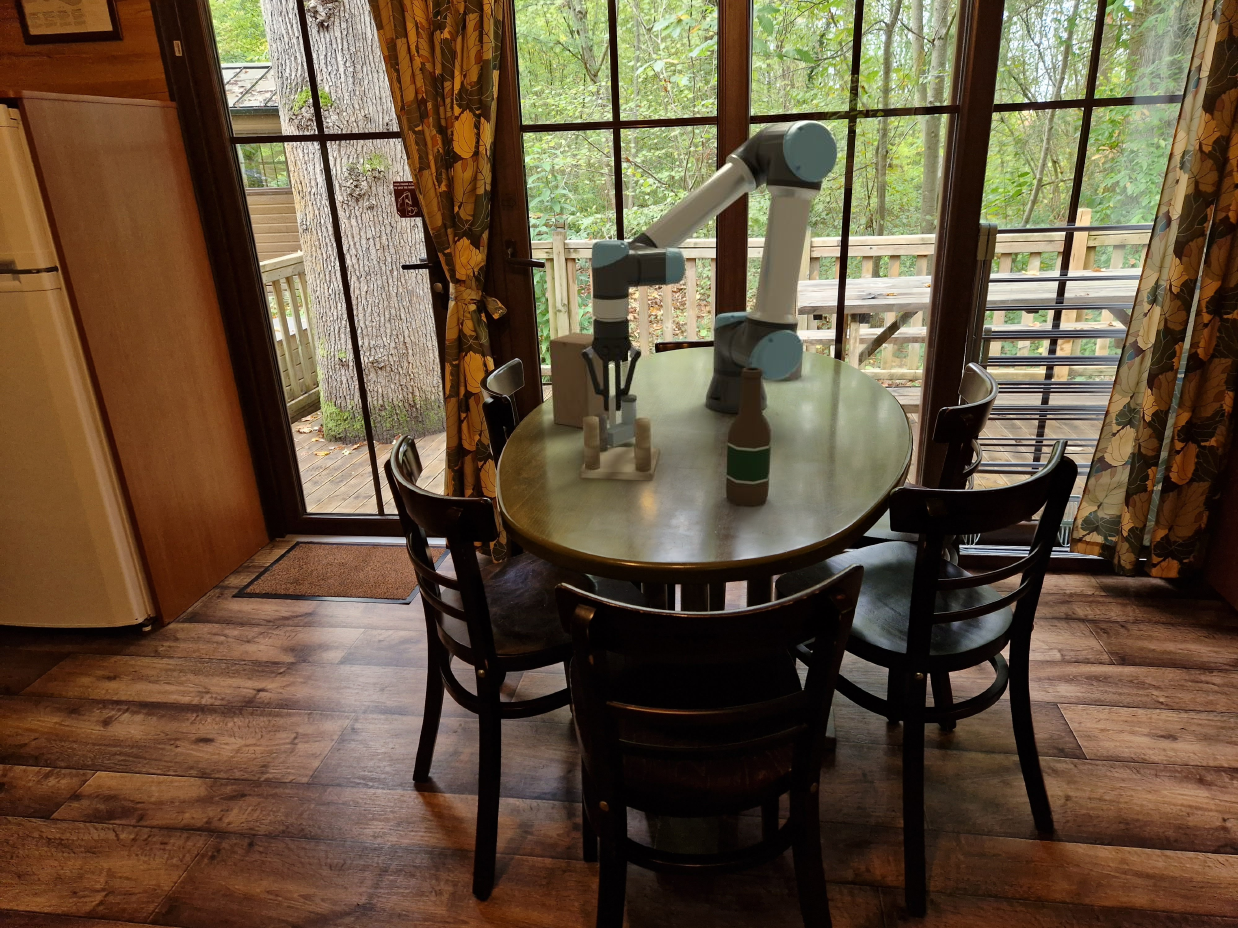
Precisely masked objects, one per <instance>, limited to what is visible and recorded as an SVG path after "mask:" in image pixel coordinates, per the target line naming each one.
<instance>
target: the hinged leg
mask: <svg viewBox="0 0 1238 928" xmlns="http://www.w3.org/2000/svg"><path fill="white" fill-rule="evenodd" d="M637 399H638V396H637V395H636V394H631V393H629V394H627V395H622V396H621V410H620V412H621V422H619V423H616V425H614V426H612V427H607V438H608V447H618V446H619V445H621V444H623V443H624V442H627V441H630V440H631V439H633V438H635V419H637V418H638V417H637Z"/></svg>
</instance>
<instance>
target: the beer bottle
mask: <svg viewBox="0 0 1238 928" xmlns="http://www.w3.org/2000/svg"><path fill="white" fill-rule="evenodd" d="M762 375H763V372H762V369H759V368H756V367H748V368H744V369H743V370H742V373H741V376H742V377H743V380H742V390H741V400H740V408H739V413H737V415H736V416H735V418H734V420H733V421H732V423H731V425H730V428H729V430H728V434H727V435H728V436H727V445H726V446H727V449H726V450H727V451H726V485H725V487H726V488H725V491H726V492H725V494H726V495H725V496H726V501H727V502H729V503H732V504H734V506H738V507H739V506H740V507H749V508H753V507H757V506H761V505H765V504H766V502H767V499H768V497H769V489H770V473H771V471H770V470H771V455H772V454H771V450H772V429H771V427H770V424H769V421H768V420H767V418H766V416H765V415H764V412H763V409H762V401H761V377H762Z"/></svg>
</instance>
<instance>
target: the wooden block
mask: <svg viewBox="0 0 1238 928" xmlns="http://www.w3.org/2000/svg"><path fill="white" fill-rule="evenodd" d="M593 338H594V336H593V333H585V332H584V333H583V332H576V331H575V332H570V333H567V334H565V335H561V336H558V337H555V338H552V339H550V340H549V342H548V343H549V358H550V359H549V360H550V376H551V377H550V378H551V394H552V395H551V397H552V398H551V399H552V413H553V415H552V416H553V423H554V424H558V425H564V426H569V427H575V428H580V429H581V428H582V429H583V418H584V417H588V416H594V415H595V414H606V415H607V420H609V411H605V410H604V398H603V396H601V395H596V394H595V391H594V387H593V383H592V380H591V376H590V373H589V369H588V366H587V362H586V361H585V360H584V358H583V357H582V351H583V350H584V349H587V348H589V347H590V346H591V344H592V341H593ZM593 354H594V355H593V357H592V358H593V361H594V365H595V368H596V372H597V375H598V379H599V383H600V386H601V388H603V361H602V360H601V359H600V358H599V357H598V356H597V354H596V353H595V352H594V351H593ZM610 388H611V387H610V383H609V395H611V394H610V393H611V392H610V391H611V390H610Z"/></svg>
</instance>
